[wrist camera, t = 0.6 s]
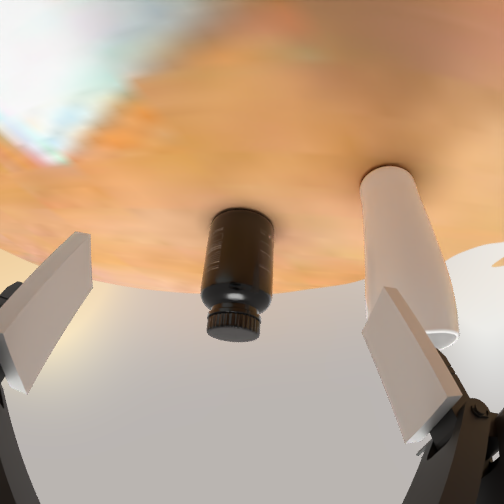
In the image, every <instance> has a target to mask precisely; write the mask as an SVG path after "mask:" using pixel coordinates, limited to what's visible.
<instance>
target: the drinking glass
mask: <svg viewBox="0 0 504 504" xmlns="http://www.w3.org/2000/svg"><path fill="white" fill-rule="evenodd" d="M360 198H361V204H362V214H363V229H364V253H365V302H366V319H367V320H368V318H369V316H370V314H371V312H372V310H373V308H374V306H375V304H376V302H377V300H378V297H379V295H380V293H381V291H382V289H383V286H385V287H391V288H397V289H398V291H399V292H400V294H401V295H402V297H403V298H404V300H405V301H406V303H407V304H408V306H409V307H410V309H411V310H412V312H413V313H414V315H415V316H416V318H417V319H418V321H419V323H420V324H421V326H422V327H423V329H424V330H425V332H426V334H427V335H428V337H429V338H430V340H431V342H432V343H433V345H434V346H435V348H437V349H438V350H442V349H445V348H447V347H449V346H451V345H452V344H454V343H455V342H456V341H457V340H458V339H459V336H460V333H459V323H458V315H457V308H456V302H455V297H454V292H453V288H452V284H451V280H450V276H449V273H448V270H447V267H446V263H445V260H444V258H443V255H442V252H441V249H440V246H439V243H438V241H437V238H436V235H435V233H434V230H433V227H432V225H431V222H430V220H429V217H428V215H427V212H426V210H425V207H424V205H423V202H422V200H421V198H420V195H419V193H418V189H417V186H416V184H415V181H414V179H413V177H412V175H411V174H410V173H409V172H408V171H406V170H405V169H403V168H400V167H396V166H384V167H380V168H377V169H375V170H373V171H371V172H370V173H369V174H367V175H366V176H365V177H364V179H363V180H362V182H361V185H360Z"/></svg>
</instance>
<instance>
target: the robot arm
mask: <svg viewBox="0 0 504 504" xmlns="http://www.w3.org/2000/svg"><path fill="white" fill-rule="evenodd" d="M92 286H93V285H92V268H91V235H90V234H86V233H81V232H76V231H75V232H74V233H73V234H72V235H71V236H70V237H69V238H68V239H67V240H66V241H65V242H64V243H63V244H61V245H60V246H59V247H58V248H57V249H56V250H55V251H54V252H53V253H52V254H51V255H50V256H49V257H48V258H47V259H46V260H45V261H44V262H43V263H42V264H41V265H40V266H39V267H38V268H37V269H36V270H35V271H34V272H33V273H32V274H31V275H30V276H29V277H28V278H27V279H26V280H25V282H24V283H22V282H16V283H14V284H12V285H10V286H9V287H7V288H6V289H5V290H4V291H3V292H2V293H1V294H0V504H40V502H39V499H38V497H37V495H36V493H35V491H34V488H33V486H32V483H31V481H30V478H29V475H28V473H27V470H26V467H25V465H24V462H23V459H22V457H21V453H20V451H19V447H18V444H17V441H16V438H15V434H14V431H13V427H12V424H11V420H10V417H9V412H8V408H7V404H6V400H5V395H4V391H3V388H2V385H1V382H2V380H3V379H4V377H6V379H7V381H8V383H9V386H10V387H11V388H13V389H16V390H18V391H20V392H22V393H25V394H28V393H29V391H30V389H31V387H32V385H33V383H34V381H35V380H36V378H37V376H38V374H39V373H40V371H41V369H42V367H43V366H44V364H45V362H46V360H47V359H48V357H49V355H50V354H51V352H52V350H53V349H54V347H55V345H56V344H57V342H58V340H59V339H60V337H61V336H62V334H63V332H64V331H65V329H66V328H67V326H68V324H69V323H70V321H71V320H72V318H73V316H74V315H75V314H76V312H77V311H78V309H79V307H80V306H81V304H82V303H83V301H84V300H85V299H86V297H87V296H88V294H89V293H90V291H91V290H92V288H93V287H92ZM362 334H363V337H364V339H365V341H366V344H367V346H368V349H369V351H370V353H371V356H372V358H373V361H374V363H375V366H376V368H377V370H378V373H379V375H380V378H381V380H382V383H383V385H384V388H385V391H386V393H387V396H388V398H389V401H390V404H391V406H392V409H393V411H394V414H395V417H396V419H397V422H398V425H399V428H400V430H401V433H402V436H403V439H404V441H405V444H406V443H413V442H420V441H421V440H422V439H423V438H424V437H425V436H426V435H427V434H428V433H429V432H430V434H431V436H432V439H431V440H430V441H429V442H428V443H427V444H426V445H425V446H424V447H423V448H422V449H421V450H420V451H419V452H418V453H417V454H416V455H417V456H419V455H420V454H421V453H422V452H424V451H425V452H424V454H423V456H422V459H421V462H420V465H419V467H418V470H417V472H416V474H415V477H414V479H413V481H412V484H411V486H410V488H409V490H408V492H407V495H406V497H405V499H404V501H403V503H402V504H504V408H503V410H502V411H501V412H500V413H499V414H497V413H492V412H490V411H489V409H488V407H487V406H486V405H485V404H484V403H483V402H482V401H480V400H478V399H475V398H469V396H468V394H467V393H466V391H465V389H464V387H463V385H462V384H461V382H460V380H459V378H458V377H457V375H456V374H455V371H454V370H453V368H452V367H451V365H450V363H449V362H448V360H447V358H446V357H445V356H444V355H443V354H442V353H441V352H440V351H439V350H438V349H437V348H435V346H434V345H433V343H432V342H431V340H430V338H429V337H428V335H427V334H426V332H425V330H424V329H423V327H422V326H421V324H420V323H419V321H418V319H417V318H416V316H415V315H414V313H413V312H412V310H411V309H410V307H409V306H408V304H407V303H406V301H405V300H404V298H403V297H402V295H401V294H400V292H399V291H398V289H397V288H391V287H385V286H383V289H382V291H381V293H380V295H379V297H378V300H377V302H376V304H375V306H374V308H373V310H372V312H371V314H370V316H369V318H368V320H367V322H366V325H365V327H364V329H363V331H362ZM498 451H499V455H500V457H499V458H497V459H496V460H495V461H494V462H493V460H492V456H493V455H494V454H496V453H497V452H498Z"/></svg>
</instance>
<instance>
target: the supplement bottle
mask: <svg viewBox="0 0 504 504" xmlns="http://www.w3.org/2000/svg"><path fill="white" fill-rule="evenodd" d="M273 248H274V231H273V227H272V225H271V223H270V222H269V220H268V219H266V218H265V217H264V216H262V215H261V214H259V213H256V212H253V211H250V210H242V209H237V210H230V211H226V212H224V213H221V214H220V215H218V216H217V217H216V218H215V219H214V220H213V222H212V224H211V227H210V232H209V238H208V244H207V251H206V257H205V264H204V271H203V278H202V285H201V299H202V301H203V303H204V304H205V306H206V307H207V308H208V309H210V310H211V311H209V313H208V317H207V319H208V323H207V333H208V335H210V336H211V337H213V338H216V339H219V340H224V341H230V342H248V341H253V340H255V339H257V338H259V334H260V324H261V317H260V315H259V314H261V313H263V312H264V311H265V310H266V309H267V308H268V307H269V305H270V303H271V300H272V284H273Z"/></svg>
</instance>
